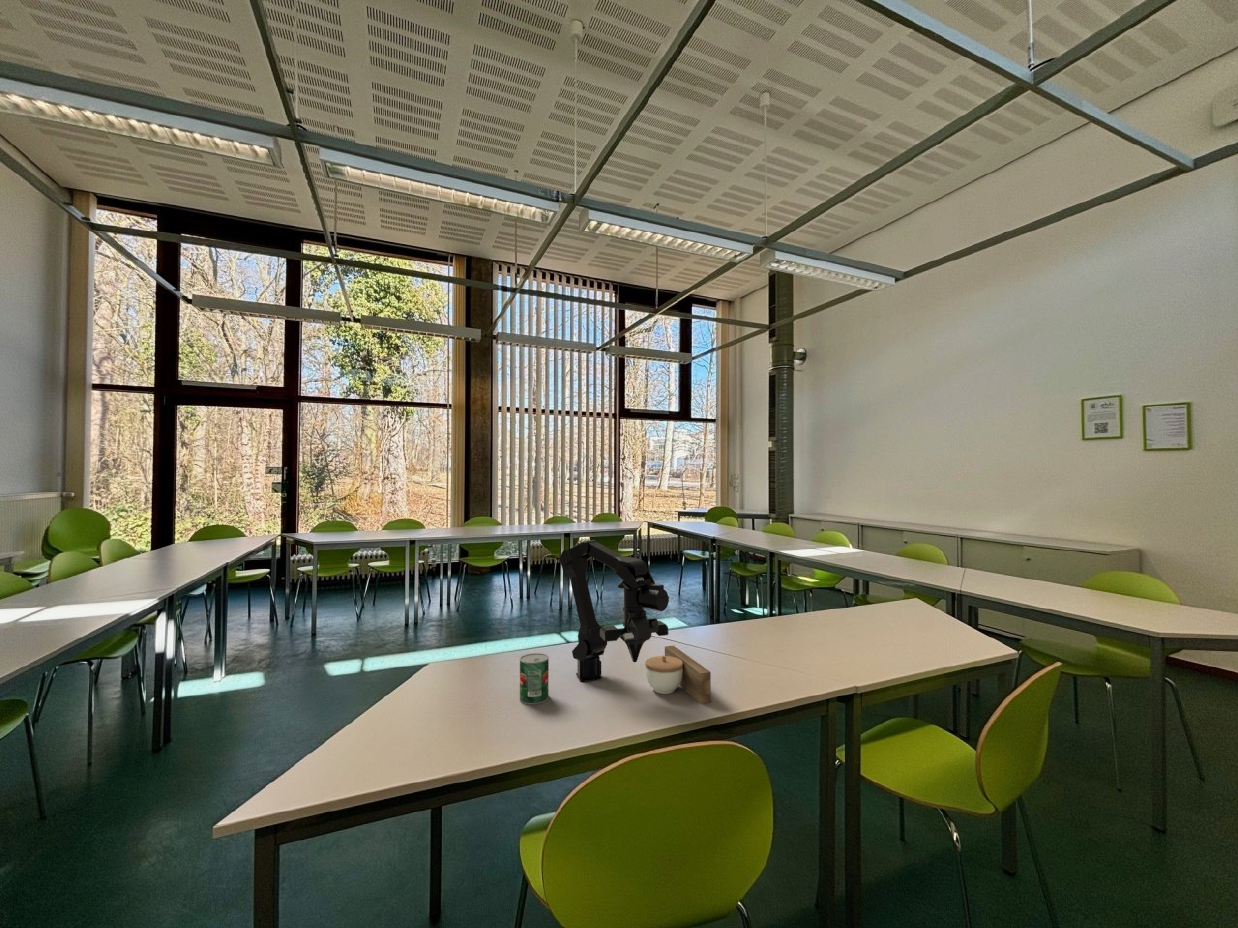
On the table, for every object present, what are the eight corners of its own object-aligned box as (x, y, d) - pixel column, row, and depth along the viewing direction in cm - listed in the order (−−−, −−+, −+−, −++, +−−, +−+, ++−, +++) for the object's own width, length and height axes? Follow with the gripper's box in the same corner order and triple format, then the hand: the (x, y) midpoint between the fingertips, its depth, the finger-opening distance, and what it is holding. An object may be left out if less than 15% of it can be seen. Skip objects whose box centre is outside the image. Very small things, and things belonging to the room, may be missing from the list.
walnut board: (700, 703, 133) (700, 673, 134) (664, 672, 156) (664, 646, 156) (710, 702, 134) (710, 671, 134) (673, 671, 157) (673, 645, 157)
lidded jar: (637, 689, 143) (637, 656, 143) (662, 679, 150) (661, 647, 151) (666, 700, 135) (666, 665, 136) (690, 689, 143) (690, 655, 143)
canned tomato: (514, 697, 138) (514, 656, 139) (540, 690, 143) (540, 651, 143) (527, 707, 132) (527, 664, 132) (554, 699, 137) (554, 658, 137)
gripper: (610, 614, 131) (611, 676, 130) (676, 609, 136) (677, 667, 136) (599, 605, 141) (599, 662, 140) (660, 600, 147) (661, 654, 146)
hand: (634, 661), depth 140 cm, fingers closed
